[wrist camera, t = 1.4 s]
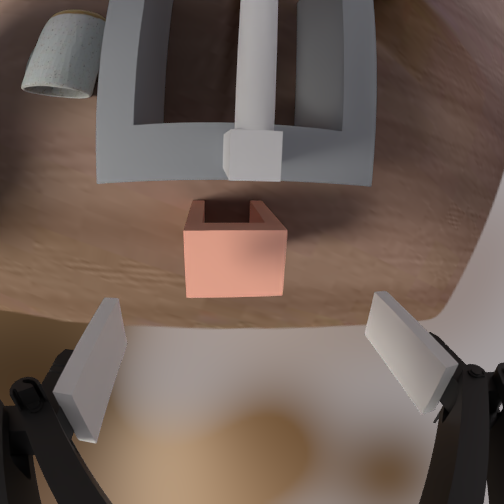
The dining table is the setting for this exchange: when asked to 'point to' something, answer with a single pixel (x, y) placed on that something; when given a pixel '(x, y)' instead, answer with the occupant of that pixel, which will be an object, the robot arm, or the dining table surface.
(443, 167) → the dining table surface
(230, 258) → the coral u-channel block
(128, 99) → the gray square frame
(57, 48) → the ceramic mug
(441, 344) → the robot arm
